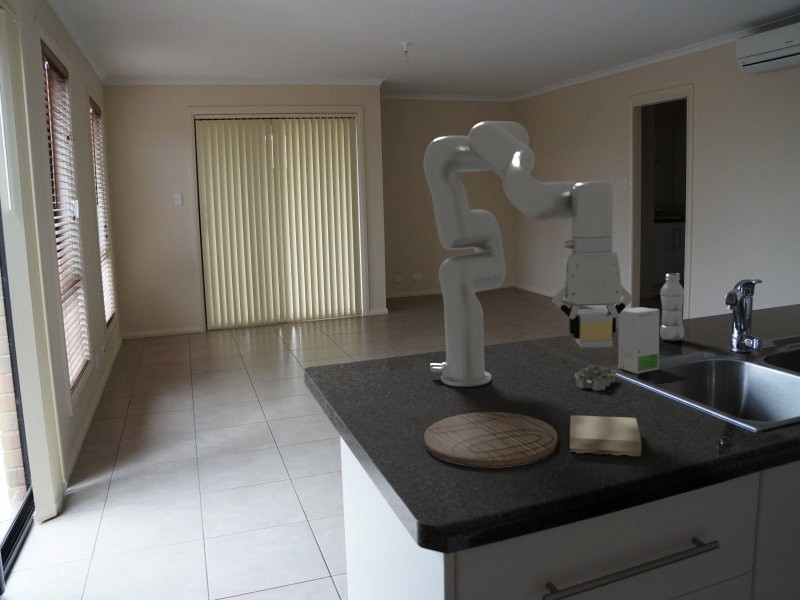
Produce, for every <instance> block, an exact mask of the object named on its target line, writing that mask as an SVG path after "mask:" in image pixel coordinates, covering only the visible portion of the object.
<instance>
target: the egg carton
mask: <svg viewBox="0 0 800 600" xmlns="http://www.w3.org/2000/svg"><path fill="white" fill-rule="evenodd" d="M616 375H617V369H613V370H611V369H610V367H607V368H605V366H600V365H599V366H596V365H594V364H592V363H590V364H588V366H587V367H585V368H584V367H583V368H582V369H580V370H579V371H577V372H574V379H576V380H575V381H576V382H575V383H576V384H575V386H576V387H578V388H579V389H581V390H584V389H592V390H593V391H597V392H598V391H605V390H606V387H610V385H611V384H613V383H615V382H616V380H615V377H616Z"/></svg>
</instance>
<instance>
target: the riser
mask: <svg viewBox="0 0 800 600" xmlns="http://www.w3.org/2000/svg"><path fill="white" fill-rule="evenodd" d="M569 423H570V425H569V453H570V452H576V453H575V454H584V453H593V454H592V455H602V454H605V455H606V454H607V455H608V454H611V455H610V456H621V455H628V457H640V456H641V457H642V437H641V434H640V433H641V432H640V430H639V424H638V422H637V417H625V416H623V417H620V416H598V415H597V416H595V415H572V414H570V421H569ZM607 455H606V456H607ZM608 456H609V455H608Z"/></svg>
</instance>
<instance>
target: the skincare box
mask: <svg viewBox="0 0 800 600" xmlns="http://www.w3.org/2000/svg"><path fill="white" fill-rule="evenodd" d="M659 360H660V309H658V308H649V307H644V306H643V307H641V306H639V307H629V308H624V309H623V310H622V311H621V312H620V313H619V314H618V367H617V369H618V368H621V369H624V370H627V371H630V372H629V373H631V372H632V373H631V374H636V375H638V374H642V373H646V372H653V371H657V370H659V368H660V363H659V362H660V361H659ZM627 371H626V372H627Z"/></svg>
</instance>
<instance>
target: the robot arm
mask: <svg viewBox="0 0 800 600" xmlns="http://www.w3.org/2000/svg"><path fill="white" fill-rule="evenodd" d="M535 164H536V155H535V153H534V151H533V149H531V147H530V136H529V133H528V132H527V130H526V128H525V127H524V126H523V125H522V124H521V123H518V122H516V121H505V120H486V121H481V122H479V123H477V124H475V125H474V126H473V127H472V128H471V129H470V130H469V133H468V135H446V136H445V135H444V136H440V137H437V138H434V140H432V141H431V142H430V143H429V144H428V145H427V147H426V149H425V152H424V156H423V172H424V175H425V180H426V182H427V183H426V184H427V185H428V188H429V191H430V195H431V199H432V204H433V206H432V207H433V211H434V216H435V217H434V218H435V223H436V229H437V230H436V231H437V234H438V235H437V236H438V239H439V242H440V244H441V246H442V248H444V249H446V250H452V251H455V250H467V249H468V250H469V249H473V250H474V253H465V254H457V255H453V256H449V257H448V258H446V259H445V260H443V261H442V262H441V264H440V266H439V270H438V280H439V284H440V289H441V293H442V299H443V300H442V301H443V308H444V309H443V311H444V313H443V315H444V329H445V330H444V331H445V333H444V334H445V337H444V338H445V359H446V361H443V362H442V363H437V362H436V363H435V362H433V363H432V362H431V363H430V365H429V370H430V371H431V372H433V373H437V374H438V373H441V376H440V381H441V382H442V383H443V384H444V385H447V386H451V387H459V388H460V387H461V388H462V387H463V388H465V387H467V388H469V387H478V386H483V385H486V384H488V383H490V382H491V380H492V375H491V373H490V372H488V371H486V370H485V369H486V368H485V335H484V333H485V332H484V331H485V330H484V312H483V307H482V304H481V302H480V301H479V299H478V297H477V295H476V293H478V292H483V291H489V290H493V289H497V288H499V287H500V286H501V285H502V284H504V282H505V279H506V275H507V266H506V261H505V255H504V253H505V252H504V247H503V240H502V235H501V229H500V224H499V222H498V221H497V218H496V216H495V215H494V214H493V213H492V212H491V211H489V210H486V209H471V208H470V205H469V200H468V194H467V190H466V189H465V186H464V184H463V183H462V181H461V180H460V179H459V178H458V177H457V175H456V173H461V172H463V173H468V172H469V173H470V172H485V171H490V170H492V171H493V172H494V173H495V174H497V176H499V177H500V178H501V179H502V187H503V190H504V195H505V196H506V199H507V200H508V201H509V203H511V205H513V207H515V208H516V209H517V210H518V211H519V212H520V213H522V214H523V215H524V216H526V217H527V218H529V219H531V220H533V221H536V222H546V221H557V220H559V221H560V220H571V238H570V240H569V239H568V240H565V241H564V248H565V249H570V250H571V251H572V252H569V253H568V256H567V262H566V271H565V285H564V286H563V287H562V288H561V289H560V290H559V291H558V292H557V293H556V294H555V295H554V297H553V298H551V302H552V303H553V304H554V305H555V306H556V307H558V309H560V310H561V311H562V312H563V313H564V314H565V315H567V317H568V321H569V323H568V329H569V330H568V331H569V334H570V335H572V337H574V339H578V338H579V321H578V319H577V312H578V310H579V309H580V307H582V306H586V307H587V306H605V307H606V309H607V310H606V311H607V312H608V313H609V314H611V315H612V316H613V322H612V339H613V338H614V333H616V332H617V318H618V317H619V313H620V312H621V311H622V310H623V309H626V307H627V306H628V305H630V304H631V302H632V301H634V297H633V295H632V294H631V293H629V292H628V290H626V289H625V287H624V286H622V282H621V281H622V280H621V267H620V262H619V257H618V252H615V251H614V250H613V249H614V248H613V241H614V240H613V235H614V234H613V231H614V230H613V229H614V227H613V222H614V220H613V218H614V217H613V211H614V209H613V208H614V205H613V204H614V203H613V201H614V197H613V196H614V195H613V192H614V191H613V186H612V184H611V182H609V181H607V180H593V181H589V180H588V181H580V182H579V181H549V182H548V181H547V182H546V181H545V182H541V181H540V180H538V179H536V178H535V177H534V176H532V175H531V172H532V171H533V169H534V166H535ZM564 298H565V301H567V302H568V303H569V304H570V305H569V307H568V306H567V305H566V304H565V303H564V302H563V301H562V300H563V299H564ZM574 339H573V340H574Z"/></svg>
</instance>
